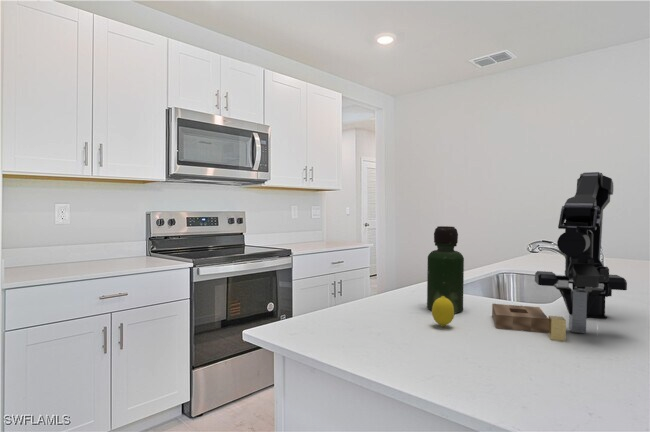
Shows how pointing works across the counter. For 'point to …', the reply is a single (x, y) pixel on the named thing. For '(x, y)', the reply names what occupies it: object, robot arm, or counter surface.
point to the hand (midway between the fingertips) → (577, 314)
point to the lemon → (443, 311)
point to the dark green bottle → (445, 269)
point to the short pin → (557, 328)
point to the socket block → (519, 318)
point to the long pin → (578, 311)
